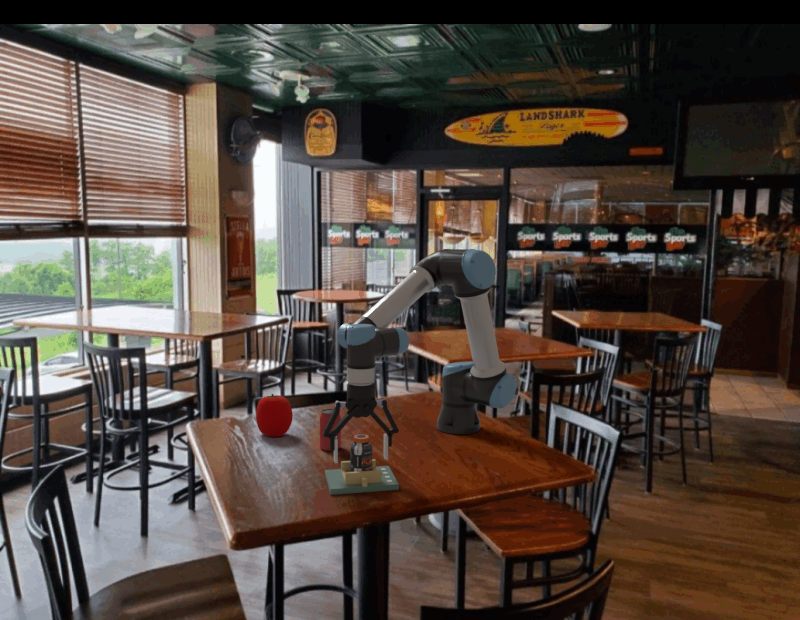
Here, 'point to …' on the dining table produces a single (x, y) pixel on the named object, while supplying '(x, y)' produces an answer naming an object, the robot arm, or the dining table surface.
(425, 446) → the dining table surface
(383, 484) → the board
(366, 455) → the pill bottle
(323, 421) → the beer can
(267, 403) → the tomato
